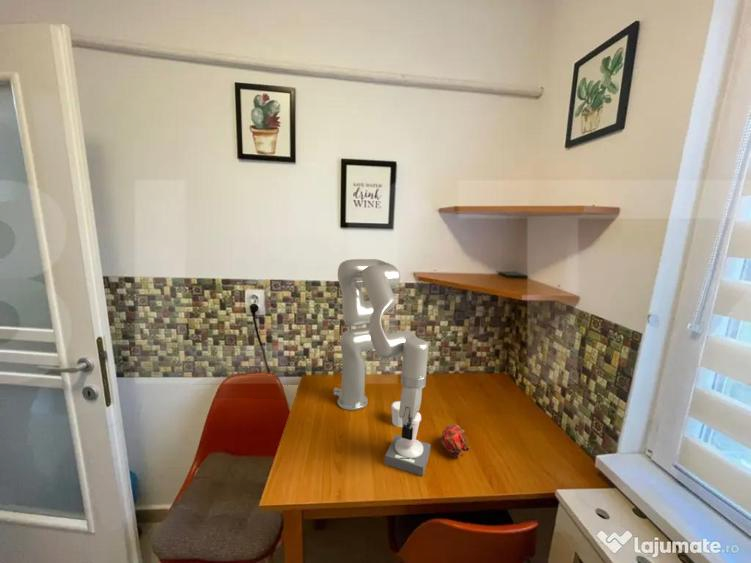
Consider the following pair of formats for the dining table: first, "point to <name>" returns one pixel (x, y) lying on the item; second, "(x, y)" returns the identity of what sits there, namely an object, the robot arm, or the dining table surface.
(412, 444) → the smoothie
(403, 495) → the dining table surface
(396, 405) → the white cup
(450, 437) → the dragon fruit
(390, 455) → the scale
